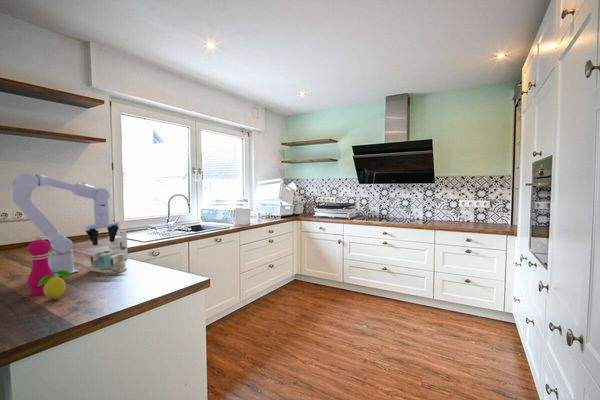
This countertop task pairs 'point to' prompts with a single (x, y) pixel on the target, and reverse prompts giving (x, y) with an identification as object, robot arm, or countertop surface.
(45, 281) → the lemon
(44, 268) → the pepper mill
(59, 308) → the countertop surface
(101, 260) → the block
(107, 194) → the robot arm
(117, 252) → the ink box
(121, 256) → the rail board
